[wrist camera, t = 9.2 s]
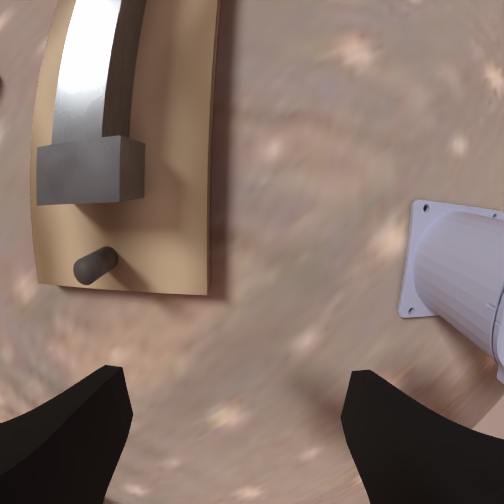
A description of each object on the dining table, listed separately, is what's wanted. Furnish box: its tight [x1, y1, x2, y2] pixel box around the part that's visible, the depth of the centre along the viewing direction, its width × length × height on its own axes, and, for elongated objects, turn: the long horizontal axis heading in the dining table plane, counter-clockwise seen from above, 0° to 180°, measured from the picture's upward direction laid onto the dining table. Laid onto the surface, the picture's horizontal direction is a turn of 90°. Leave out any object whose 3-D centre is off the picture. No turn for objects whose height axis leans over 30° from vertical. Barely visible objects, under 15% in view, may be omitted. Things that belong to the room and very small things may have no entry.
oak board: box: [30, 0, 221, 295], centre depth 13 cm, size 12×32×4 cm, turn 178°
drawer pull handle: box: [36, 0, 147, 206], centre depth 12 cm, size 5×21×4 cm, turn 178°
